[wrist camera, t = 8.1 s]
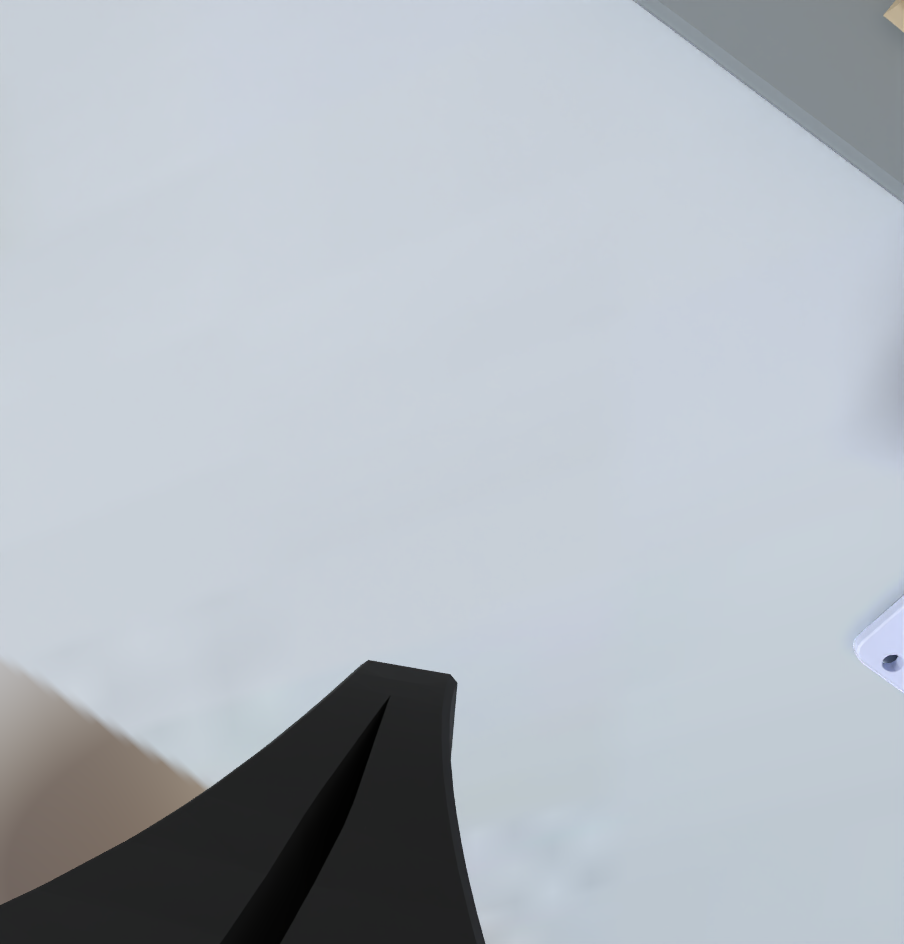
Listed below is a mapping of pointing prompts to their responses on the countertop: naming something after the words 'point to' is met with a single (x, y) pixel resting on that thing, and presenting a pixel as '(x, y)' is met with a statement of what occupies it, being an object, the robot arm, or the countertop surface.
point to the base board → (812, 68)
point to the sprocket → (896, 14)
